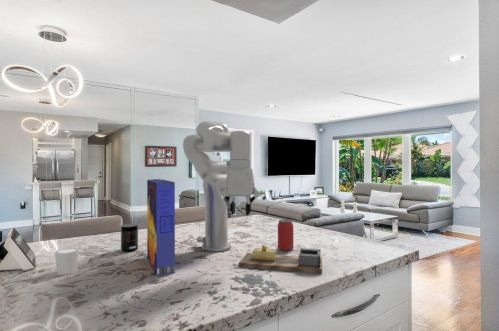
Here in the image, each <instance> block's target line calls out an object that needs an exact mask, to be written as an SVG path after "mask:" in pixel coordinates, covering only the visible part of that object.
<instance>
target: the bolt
mask: <svg viewBox="0 0 499 331" xmlns="http://www.w3.org/2000/svg"><path fill="white" fill-rule="evenodd" d="M277 249H278V248H277ZM277 249H276V248H268V244H263V245H261V248H260V247H254V248H253V250H252V253H253V259H255V260H268V261H275V260H276V258H277V255H278V253H277V252H278V251H277Z"/></svg>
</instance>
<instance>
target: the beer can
mask: <svg viewBox="0 0 499 331" xmlns="http://www.w3.org/2000/svg"><path fill="white" fill-rule="evenodd" d="M277 249H278V250H279V251H284V252H289V251H293V249H294V223H293V220H291V219H279V220H278V223H277Z"/></svg>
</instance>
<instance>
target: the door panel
mask: <svg viewBox="0 0 499 331" xmlns="http://www.w3.org/2000/svg"><path fill="white" fill-rule="evenodd" d="M238 267H239V268H250V269H262V270H271V271H272V270H273V271H284V272H285V271H286V272H294V273H295V272H296V273H308V274H321V275H322V274H323V273H322V272H323V258H322V257H321V262H320V267H309V266H299V255H298V256H296V255H284V254H277V258H276V260H275V261H268V260H255V259H253V252H247V253H246V254H245V255H244V256H242V258H241V259H240V260H239V262H238Z"/></svg>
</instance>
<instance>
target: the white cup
mask: <svg viewBox="0 0 499 331" xmlns="http://www.w3.org/2000/svg"><path fill="white" fill-rule="evenodd" d="M79 254H80V249H79V248H76V247H75V248H73V247H71V248H64V249H60V250H57V251H56V250H55V252H54V257H55V266H56V274H57V275H58V276H61V275H62V276H66V275H71V274H74V273H76V272H78V271H77V270H78V263H79Z"/></svg>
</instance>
